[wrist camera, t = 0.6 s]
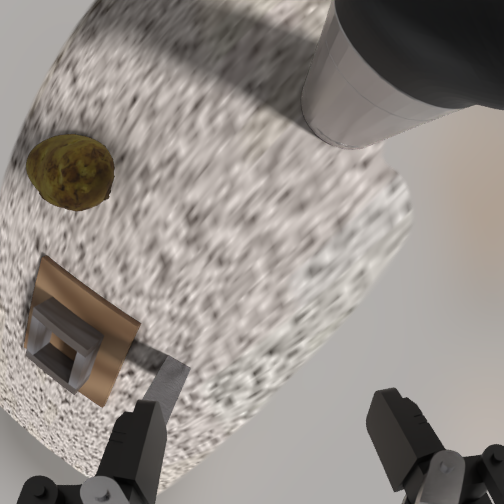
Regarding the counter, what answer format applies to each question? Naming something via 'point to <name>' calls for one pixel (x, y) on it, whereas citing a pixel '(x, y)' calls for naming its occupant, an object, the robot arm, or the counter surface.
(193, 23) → the counter surface
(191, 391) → the counter surface
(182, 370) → the tall square pillar
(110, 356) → the well board
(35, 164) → the potato
